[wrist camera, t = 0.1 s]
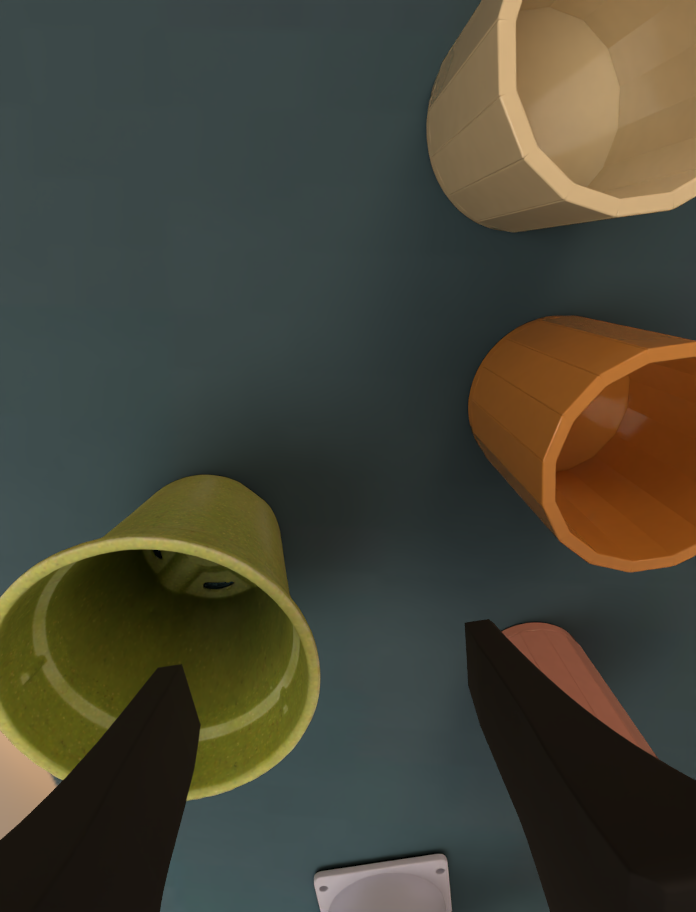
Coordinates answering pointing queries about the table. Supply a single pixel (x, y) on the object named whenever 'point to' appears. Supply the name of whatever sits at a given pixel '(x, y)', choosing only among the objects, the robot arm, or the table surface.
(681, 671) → the table surface
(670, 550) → the ochre cup
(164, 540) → the plant pot
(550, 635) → the rose cup
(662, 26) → the cream cup
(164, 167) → the table surface
